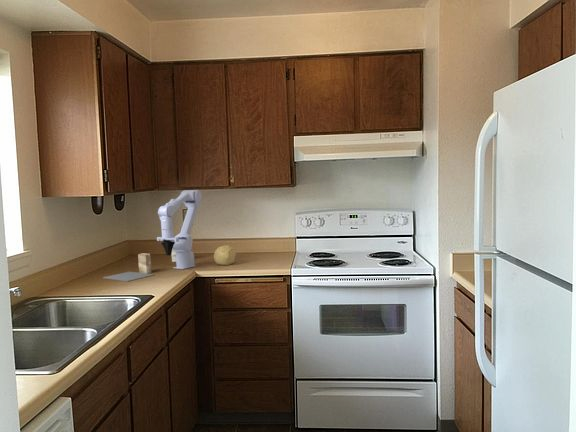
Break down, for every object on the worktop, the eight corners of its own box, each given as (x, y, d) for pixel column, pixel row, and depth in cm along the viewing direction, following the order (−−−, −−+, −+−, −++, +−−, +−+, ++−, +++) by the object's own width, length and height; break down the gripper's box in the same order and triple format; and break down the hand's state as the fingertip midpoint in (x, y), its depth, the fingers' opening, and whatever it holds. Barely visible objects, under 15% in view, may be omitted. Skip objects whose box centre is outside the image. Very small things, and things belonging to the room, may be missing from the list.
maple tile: (144, 272, 263) (142, 253, 262) (151, 272, 259) (150, 253, 258) (139, 273, 260) (138, 254, 260) (146, 274, 257) (145, 254, 256)
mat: (129, 272, 264) (129, 271, 264) (154, 275, 252) (154, 274, 252) (102, 278, 251) (102, 277, 251) (127, 281, 239) (127, 280, 239)
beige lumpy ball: (230, 266, 268) (229, 246, 267) (210, 266, 272) (209, 246, 271) (239, 262, 279) (238, 243, 278) (220, 262, 283) (219, 243, 282)
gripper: (151, 229, 258) (153, 255, 259) (170, 230, 250) (172, 257, 251) (162, 228, 264) (163, 253, 265) (181, 228, 255) (183, 255, 257)
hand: (168, 255), depth 258 cm, fingers closed
